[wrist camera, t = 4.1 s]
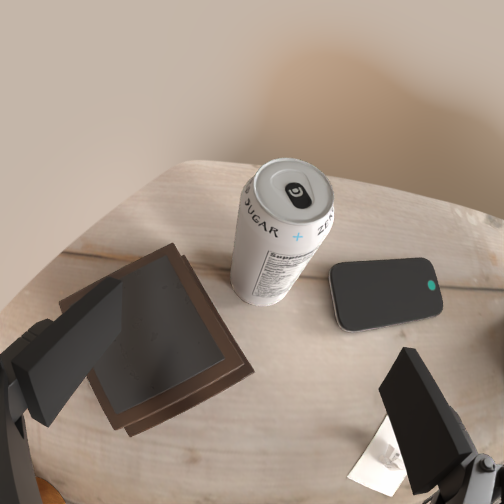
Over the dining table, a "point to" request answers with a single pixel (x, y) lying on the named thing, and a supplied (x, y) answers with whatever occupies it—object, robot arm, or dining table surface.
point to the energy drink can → (279, 228)
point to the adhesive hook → (381, 462)
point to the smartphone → (384, 293)
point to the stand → (162, 345)
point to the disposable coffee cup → (48, 493)
